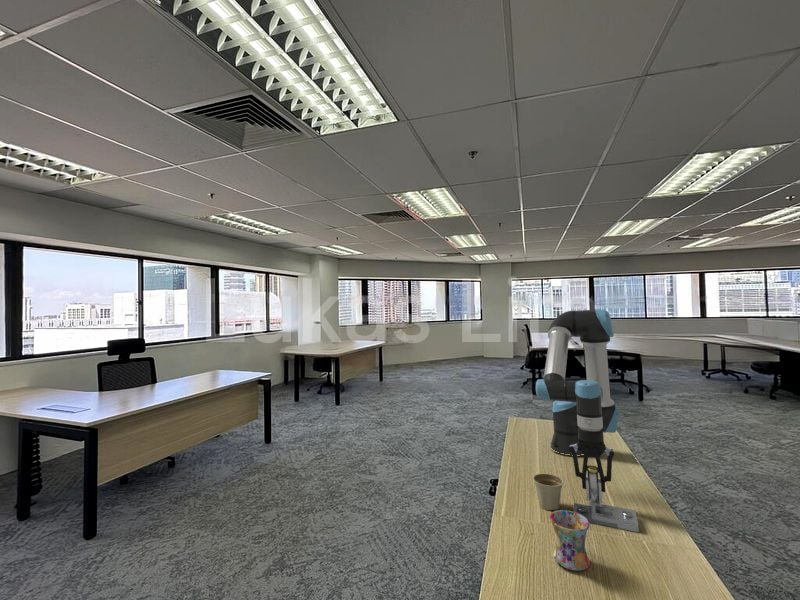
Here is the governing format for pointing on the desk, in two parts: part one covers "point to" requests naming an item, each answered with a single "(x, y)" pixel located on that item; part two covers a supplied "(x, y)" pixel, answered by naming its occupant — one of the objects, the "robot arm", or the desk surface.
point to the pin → (593, 484)
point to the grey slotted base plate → (609, 516)
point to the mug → (570, 539)
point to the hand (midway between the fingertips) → (594, 499)
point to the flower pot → (548, 490)
